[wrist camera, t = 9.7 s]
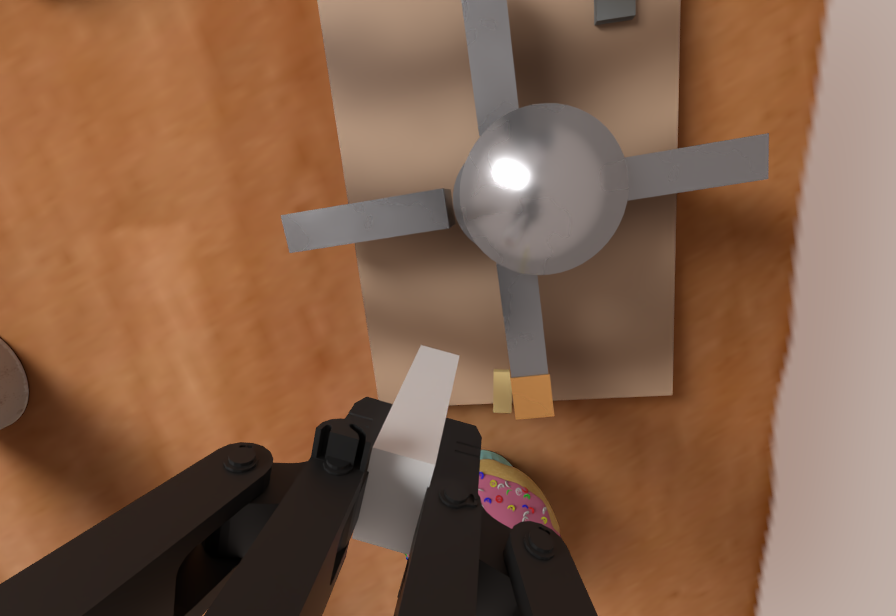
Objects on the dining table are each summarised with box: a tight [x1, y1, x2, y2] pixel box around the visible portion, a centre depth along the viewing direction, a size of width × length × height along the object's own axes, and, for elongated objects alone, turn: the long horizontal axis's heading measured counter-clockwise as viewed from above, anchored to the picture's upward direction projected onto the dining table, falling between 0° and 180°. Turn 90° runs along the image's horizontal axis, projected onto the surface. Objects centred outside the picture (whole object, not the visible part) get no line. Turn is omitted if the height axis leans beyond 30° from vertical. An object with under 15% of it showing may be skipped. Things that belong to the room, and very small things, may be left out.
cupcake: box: [405, 450, 561, 560], centre depth 22 cm, size 9×8×12 cm
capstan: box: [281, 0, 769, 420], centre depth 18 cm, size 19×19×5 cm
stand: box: [317, 0, 681, 413], centre depth 22 cm, size 22×16×4 cm
